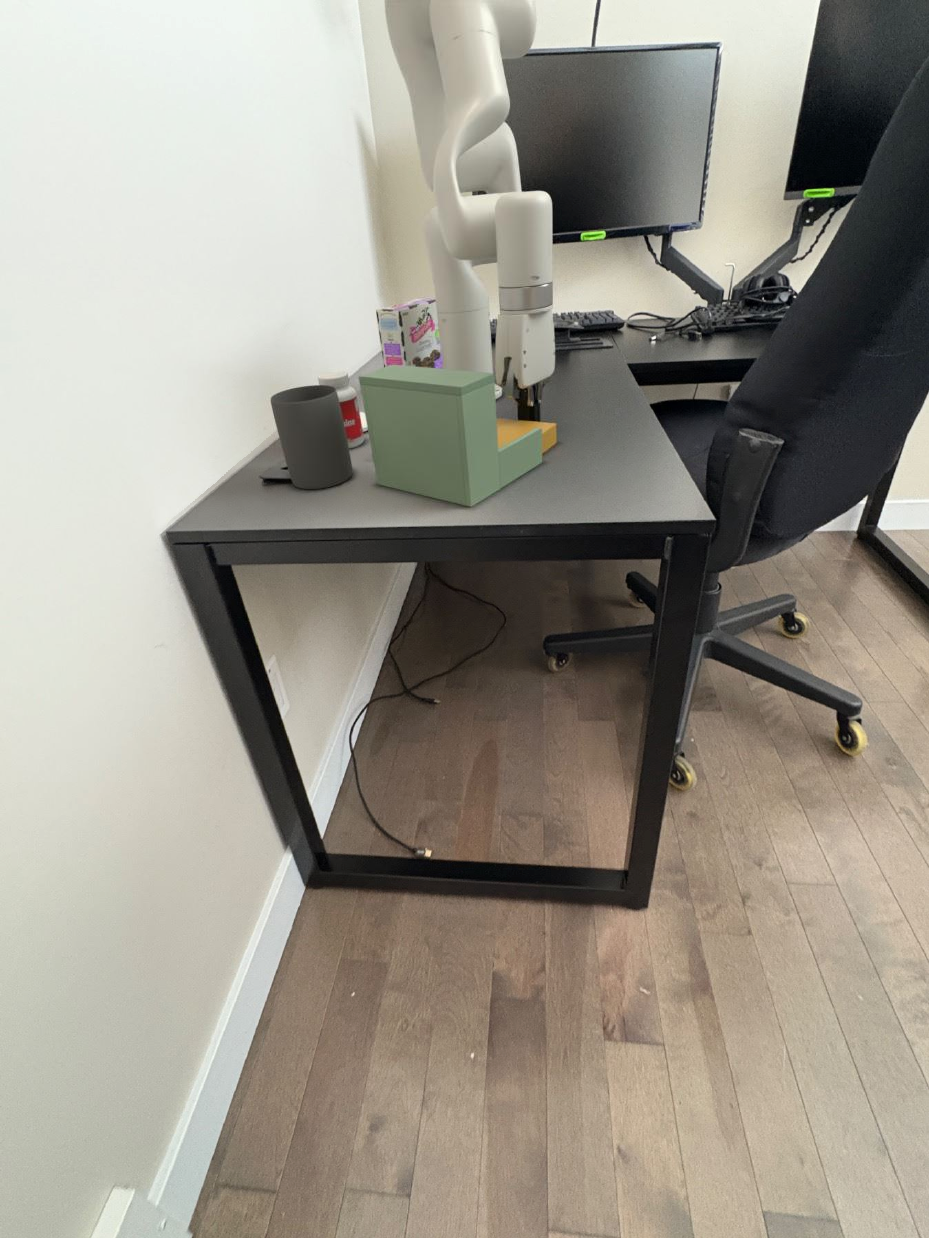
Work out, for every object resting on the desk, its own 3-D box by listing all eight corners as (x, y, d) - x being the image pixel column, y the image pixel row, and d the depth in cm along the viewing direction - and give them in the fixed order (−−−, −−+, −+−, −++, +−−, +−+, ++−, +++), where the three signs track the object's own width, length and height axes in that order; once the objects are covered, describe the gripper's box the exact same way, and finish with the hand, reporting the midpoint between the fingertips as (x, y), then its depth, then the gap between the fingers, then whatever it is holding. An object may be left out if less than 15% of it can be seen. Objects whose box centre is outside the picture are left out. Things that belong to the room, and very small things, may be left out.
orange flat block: (494, 436, 97) (492, 417, 95) (556, 443, 91) (556, 423, 90) (442, 469, 87) (440, 449, 85) (509, 479, 81) (508, 457, 80)
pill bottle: (325, 452, 98) (309, 381, 91) (330, 440, 103) (316, 372, 96) (362, 448, 97) (349, 377, 91) (366, 436, 103) (354, 368, 96)
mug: (366, 474, 88) (350, 389, 81) (313, 495, 83) (291, 406, 76) (315, 457, 96) (297, 378, 89) (265, 475, 91) (241, 393, 84)
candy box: (410, 401, 119) (398, 309, 109) (387, 399, 122) (373, 309, 112) (448, 383, 128) (440, 297, 119) (426, 382, 131) (416, 297, 122)
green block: (452, 446, 94) (442, 347, 86) (542, 462, 85) (541, 353, 77) (377, 484, 84) (358, 376, 76) (471, 507, 75) (460, 387, 67)
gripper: (531, 291, 91) (533, 413, 101) (473, 308, 82) (482, 441, 92) (575, 290, 87) (573, 418, 97) (519, 308, 78) (524, 447, 88)
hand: (529, 429), depth 95 cm, fingers closed
